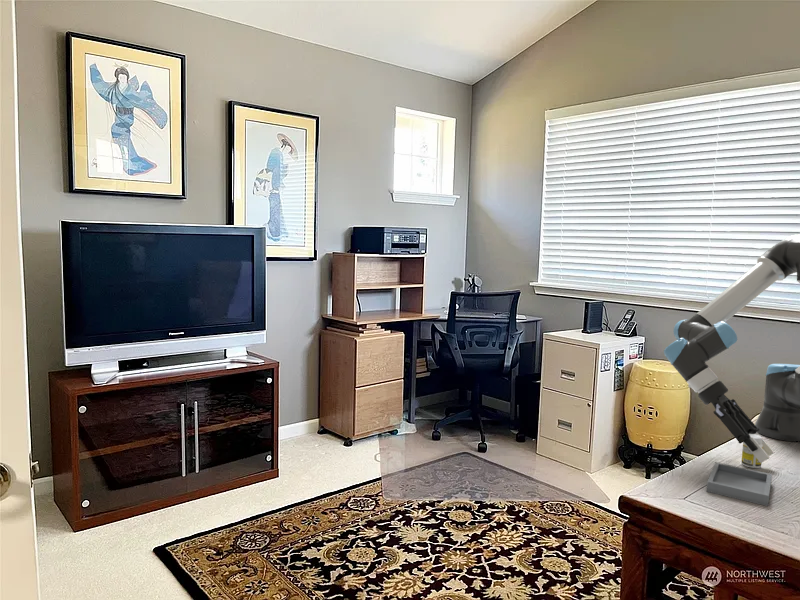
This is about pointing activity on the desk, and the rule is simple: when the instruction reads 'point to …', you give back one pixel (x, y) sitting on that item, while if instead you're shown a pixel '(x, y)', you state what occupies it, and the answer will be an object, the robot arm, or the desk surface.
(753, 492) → the tray
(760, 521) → the desk surface
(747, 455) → the supplement bottle
